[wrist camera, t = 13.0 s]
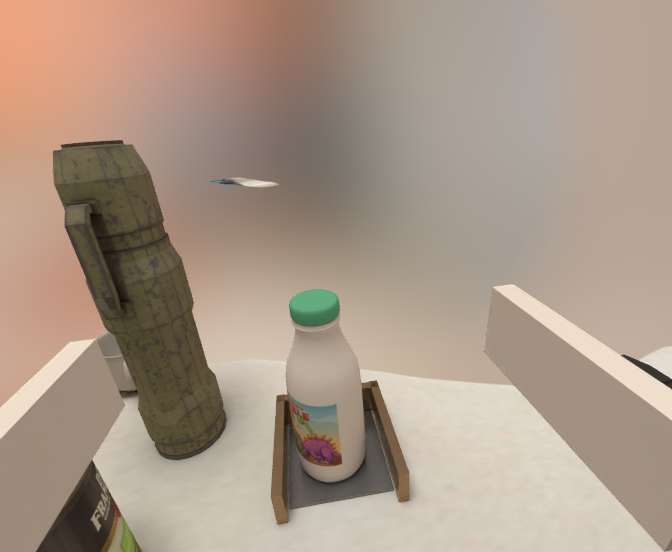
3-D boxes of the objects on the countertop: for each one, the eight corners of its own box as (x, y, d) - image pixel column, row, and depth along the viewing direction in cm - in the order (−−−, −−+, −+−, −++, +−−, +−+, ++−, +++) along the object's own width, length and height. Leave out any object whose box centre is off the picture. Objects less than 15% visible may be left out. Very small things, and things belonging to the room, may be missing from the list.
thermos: (233, 392, 49) (165, 138, 35) (219, 463, 38) (114, 138, 25) (171, 402, 48) (77, 146, 35) (139, 478, 38) (-16, 149, 24)
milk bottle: (339, 415, 43) (323, 274, 35) (380, 456, 37) (373, 297, 29) (287, 449, 39) (257, 298, 31) (324, 500, 33) (299, 331, 25)
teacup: (115, 367, 58) (98, 327, 54) (181, 350, 61) (169, 312, 57) (90, 426, 45) (66, 380, 42) (174, 402, 48) (158, 357, 45)
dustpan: (408, 500, 33) (409, 442, 30) (277, 524, 32) (263, 466, 29) (374, 392, 47) (371, 345, 44) (281, 407, 46) (272, 359, 43)
